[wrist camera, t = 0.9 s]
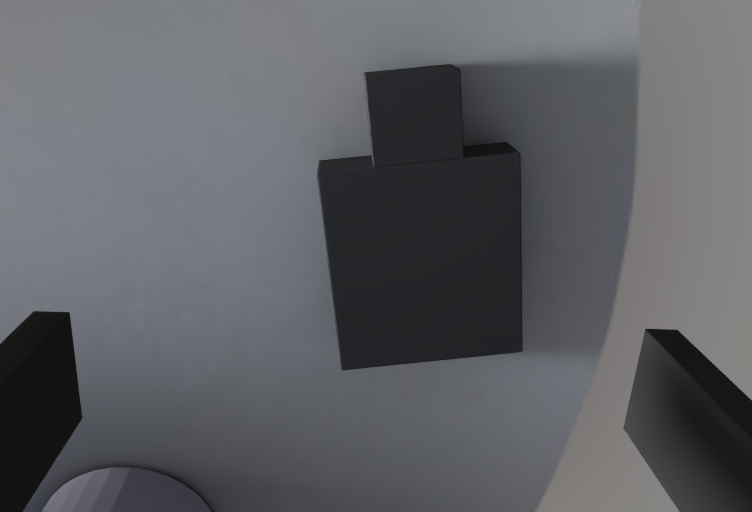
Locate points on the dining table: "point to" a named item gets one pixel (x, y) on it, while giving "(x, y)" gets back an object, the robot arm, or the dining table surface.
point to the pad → (422, 230)
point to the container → (124, 493)
